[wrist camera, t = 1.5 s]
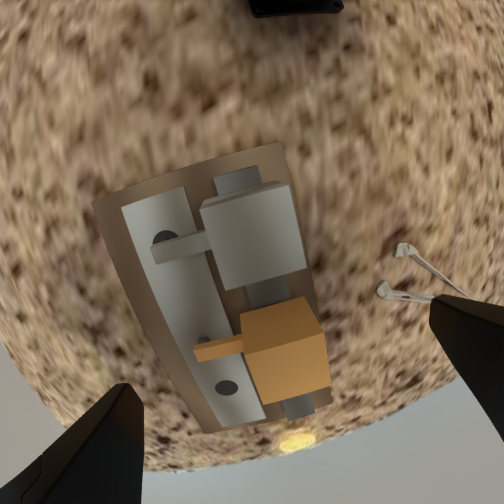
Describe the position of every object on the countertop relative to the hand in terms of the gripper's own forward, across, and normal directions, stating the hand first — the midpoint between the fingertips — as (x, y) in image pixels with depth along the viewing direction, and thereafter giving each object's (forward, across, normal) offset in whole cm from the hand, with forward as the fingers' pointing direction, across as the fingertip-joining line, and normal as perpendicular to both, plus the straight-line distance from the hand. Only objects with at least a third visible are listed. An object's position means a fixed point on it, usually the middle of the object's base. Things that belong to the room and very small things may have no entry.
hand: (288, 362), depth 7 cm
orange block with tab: (+10, +1, +6) cm, 12 cm away
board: (+12, +3, +6) cm, 14 cm away
